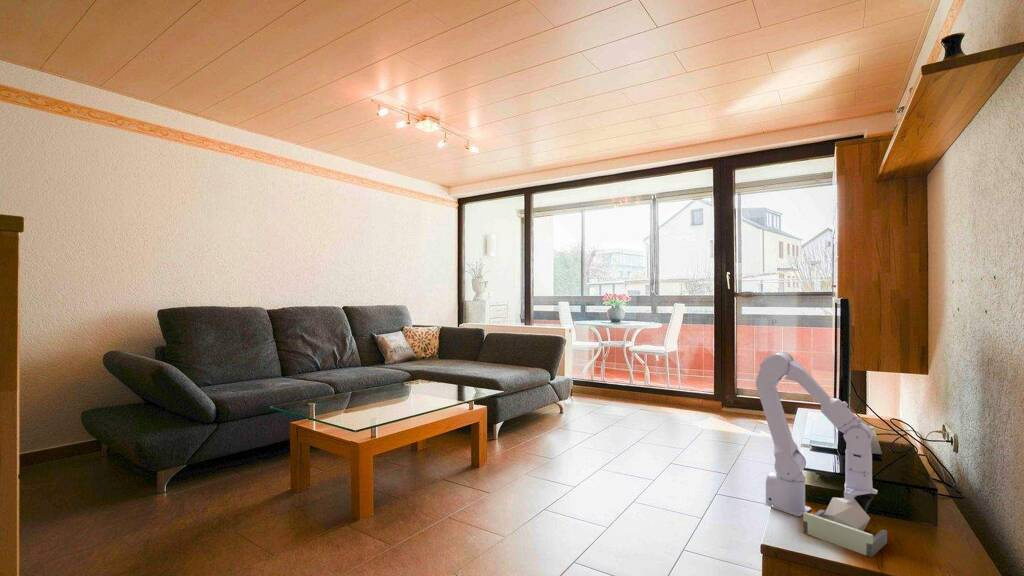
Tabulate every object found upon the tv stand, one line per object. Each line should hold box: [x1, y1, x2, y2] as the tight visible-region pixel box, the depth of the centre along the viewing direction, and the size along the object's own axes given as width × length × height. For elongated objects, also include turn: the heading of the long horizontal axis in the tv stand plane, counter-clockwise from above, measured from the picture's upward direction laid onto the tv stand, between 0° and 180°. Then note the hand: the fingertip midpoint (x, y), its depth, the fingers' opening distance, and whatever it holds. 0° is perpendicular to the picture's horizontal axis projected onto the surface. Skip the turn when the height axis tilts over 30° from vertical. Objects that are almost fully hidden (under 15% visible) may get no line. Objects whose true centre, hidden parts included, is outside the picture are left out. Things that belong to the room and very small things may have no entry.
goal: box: [802, 509, 888, 558], centre depth 121 cm, size 15×11×5 cm
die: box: [824, 497, 871, 532], centre depth 124 cm, size 8×9×10 cm
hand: (858, 521), depth 127 cm, fingers closed
